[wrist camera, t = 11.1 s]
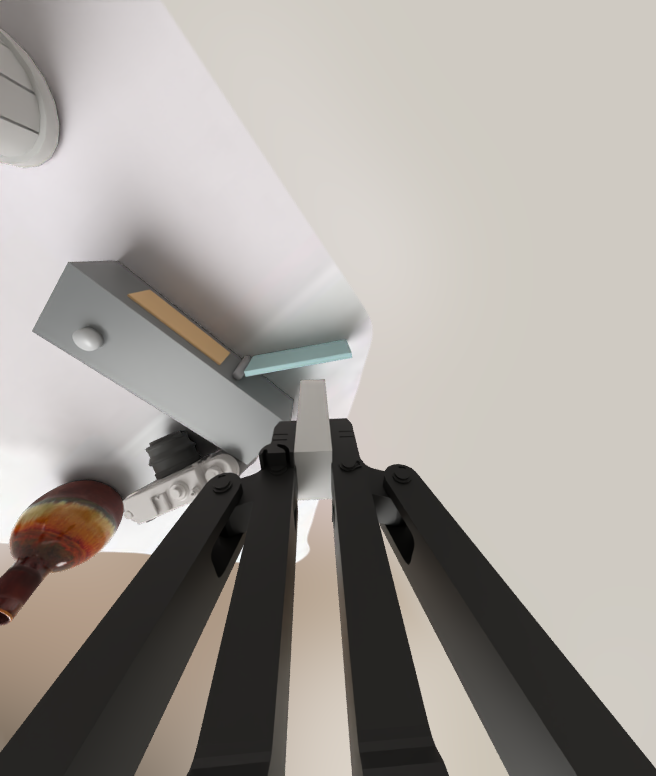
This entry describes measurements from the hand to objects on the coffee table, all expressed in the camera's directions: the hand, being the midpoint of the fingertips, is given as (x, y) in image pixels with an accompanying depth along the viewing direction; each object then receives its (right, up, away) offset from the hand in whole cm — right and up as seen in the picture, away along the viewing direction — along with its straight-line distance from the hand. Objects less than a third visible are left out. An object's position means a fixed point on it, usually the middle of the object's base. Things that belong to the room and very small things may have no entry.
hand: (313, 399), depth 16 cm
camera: (-18, -8, +22) cm, 29 cm away
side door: (-3, +5, +15) cm, 16 cm away
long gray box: (-15, +4, +16) cm, 22 cm away
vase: (-36, -17, +25) cm, 47 cm away
